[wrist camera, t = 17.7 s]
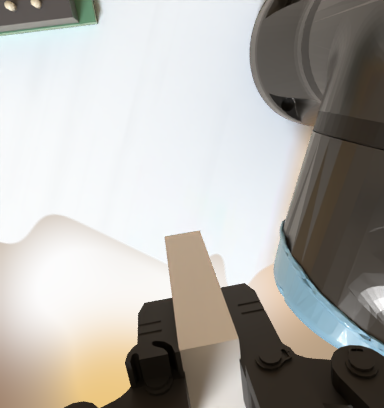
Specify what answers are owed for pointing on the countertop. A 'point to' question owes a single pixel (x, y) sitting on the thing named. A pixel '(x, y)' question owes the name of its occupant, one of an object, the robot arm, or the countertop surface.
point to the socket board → (44, 15)
